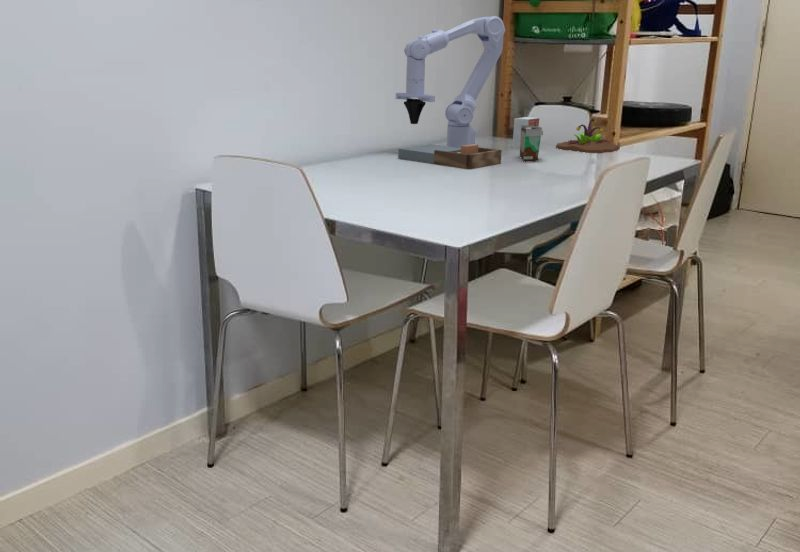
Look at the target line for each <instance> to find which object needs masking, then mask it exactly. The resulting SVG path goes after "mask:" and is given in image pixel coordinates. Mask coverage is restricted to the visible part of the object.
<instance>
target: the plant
mask: <svg viewBox="0 0 800 552" xmlns="http://www.w3.org/2000/svg"><path fill="white" fill-rule="evenodd" d="M595 123H597V120H596V118H595V117H592V118H590V120H589V123H588V125H587V126H586V125H585V124H580V125H578V126H577V127H576V131H578V133H577V134H576V133H573V135H574V136H575V137H576V139H574V140H573V139H569V140H568V141H563V142H558V143H557V144H556V145H555V149H557V148H558V149H557V150H560V149H562V151H569V150H571V151H570V152H577V151H579V152H578V153H583V152H585V153H586V154H604V153H614V152H615V151H618V150H620V149H621V147H620V146H619V145H618V144H615V143H613V142H610V141H609V140H607V139H606V140H604V139H601V138H603V135H602V134H601V133H603V132H604V129H603V128H602V127H601V126H595V127H593V128H592V124H595ZM582 127H583V129H584V132H582V133H580V132H579V131H580V130H581V128H582ZM597 129H598V132H599V133H597V134H593V132H595V130H597ZM600 139H601V140H600ZM599 140H600V141H599Z"/></svg>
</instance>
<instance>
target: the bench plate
mask: <svg viewBox="0 0 800 552" xmlns="http://www.w3.org/2000/svg"><path fill="white" fill-rule="evenodd" d="M397 150H398V152H397V156H398V158H397V159H399V160H404V161H405V160H406V161H412V162H420V163H427V164H432V165H434V150H441V151H449V152H456V153H457V152H460V153H461V148H456V147H448V146H447V145H440V144H431V143H430V144H425V145H424V144H423V145H417V146H408V147H401V148H400V147H399V148H398V149H397Z"/></svg>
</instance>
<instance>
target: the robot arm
mask: <svg viewBox="0 0 800 552" xmlns="http://www.w3.org/2000/svg"><path fill="white" fill-rule="evenodd" d="M505 32H506V28H505V25H504V21H503V19H502V18H501V17H499V16H497V15H493V16H486V15H485V16H480V17H477V18H473V19H470V20H467V21H466V22H465V21H464V23H460V24H459V25H457V26H455V27H452V28H451V29H449V30H446V31H444V30H442V29H437V28H435V29H432V30H431V33H428V34H426V35H419V36H418V39H412V40H409V41H408V42H407V43H406V44H405V48H403V52H404V54H405V56H406V76H405V77H406V80H405V82H406V83H405V85H406V86H405V92H395V100H405V101H403V104H404V107H405V108H406V110H407V113H408V118H409V122H410V124H411V125H418V124H419V120H420V117H421V113H422V111H423V109H424V107H425V105H426V103H435V100H436V95H434V94H433V95H432V94H425V75H426V74H425V73H426V72H425V70H426V57H427V56H429V55H432V54H434V53H435V52H439V51H441V50H442V49H446V48H447V47H448V46H449V45H448V44H449V43H450V42H451V41H455V40H457V39H460V38H462V37H464V36H467V35H469V34H474V35H475V34H476V35H477V37H478V38H479V40H480V41H481V43H482V47H483V52H482V54H481V55H480V57H479V59H478V61H477V63H476V64H475V66H474V68H473V70H472V72H471V74H470V76H469V78H467V81H466V82H465V85H464V86H463V88H462V90H461V92H460V94H459V95H457V96H456V97H455V98H454V100H452V102H451V103H450V104H448V105H447V106H446V108H445V113H444V114H445V118H446V119H447V121H448V122H447V130H446V146H448V147H456V148H461V146H463V145H470V144H476V129H475V128H474V127H473V126H472V125H471V123H472V121H473V119H474V112H475V109H476V108H477V105H476V101H477V99H478V97H479V95H480V93H481V91H482V90H483V88H484V86H485V84H486V82H487V80H488V79H489V76H490V75H491V73H492V72H493V69H494V67H495V65H496V64H497V62H498V60H499V58H500V56H501V55H502V53H503V46H504V35H505Z"/></svg>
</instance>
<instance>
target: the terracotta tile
mask: <svg viewBox="0 0 800 552" xmlns="http://www.w3.org/2000/svg"><path fill="white" fill-rule="evenodd" d="M478 147H479V144H476V143H475V144H470V145H463V146H461V153H463V154H474V153H478Z"/></svg>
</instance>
